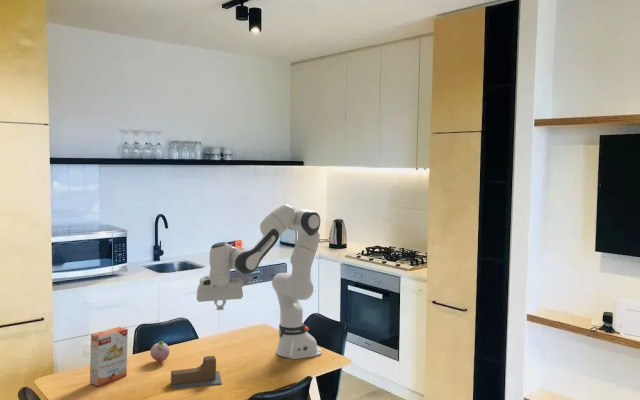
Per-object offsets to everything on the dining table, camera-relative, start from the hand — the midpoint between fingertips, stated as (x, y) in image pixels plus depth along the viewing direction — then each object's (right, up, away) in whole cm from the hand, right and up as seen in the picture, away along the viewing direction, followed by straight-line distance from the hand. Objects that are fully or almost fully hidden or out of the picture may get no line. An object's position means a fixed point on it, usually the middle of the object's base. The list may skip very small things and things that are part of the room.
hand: (220, 309), depth 226 cm
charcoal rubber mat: (-8, -28, -11) cm, 31 cm away
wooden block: (0, -23, -9) cm, 24 cm away
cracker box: (-44, -27, -13) cm, 53 cm away
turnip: (-29, -26, +8) cm, 40 cm away
